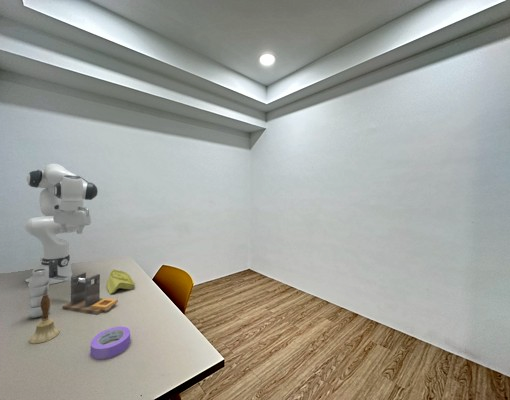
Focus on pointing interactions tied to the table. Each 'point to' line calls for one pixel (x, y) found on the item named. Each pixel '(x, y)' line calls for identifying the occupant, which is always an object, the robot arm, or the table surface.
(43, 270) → the plastic bottle
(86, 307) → the shaft frame
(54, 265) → the shaft
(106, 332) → the masking tape
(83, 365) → the table surface
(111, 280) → the plastic component
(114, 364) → the table surface
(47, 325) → the hand bell
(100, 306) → the frame
